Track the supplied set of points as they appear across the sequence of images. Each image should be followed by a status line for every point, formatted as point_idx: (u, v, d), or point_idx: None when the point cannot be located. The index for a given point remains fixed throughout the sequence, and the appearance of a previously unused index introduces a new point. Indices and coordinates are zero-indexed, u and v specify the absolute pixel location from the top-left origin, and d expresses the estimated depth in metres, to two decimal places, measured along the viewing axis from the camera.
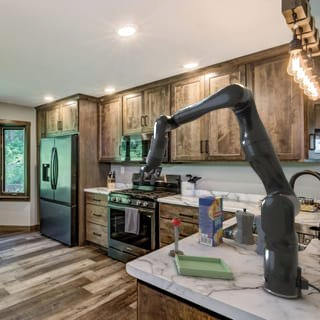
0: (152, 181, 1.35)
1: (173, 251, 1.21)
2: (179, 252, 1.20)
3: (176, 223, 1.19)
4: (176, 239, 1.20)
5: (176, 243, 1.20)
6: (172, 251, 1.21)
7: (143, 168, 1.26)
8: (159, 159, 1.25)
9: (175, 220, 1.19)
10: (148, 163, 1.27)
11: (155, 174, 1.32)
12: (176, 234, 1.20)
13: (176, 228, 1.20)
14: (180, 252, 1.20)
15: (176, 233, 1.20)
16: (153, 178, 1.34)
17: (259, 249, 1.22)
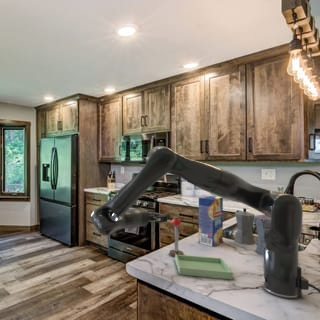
0: (151, 213, 1.17)
1: (173, 251, 1.21)
2: (179, 252, 1.20)
3: (176, 223, 1.19)
4: (176, 239, 1.20)
5: (176, 243, 1.20)
6: (172, 251, 1.21)
7: (159, 218, 1.04)
8: (138, 209, 1.06)
9: (175, 220, 1.19)
10: (149, 218, 1.05)
11: (147, 211, 1.14)
12: (176, 234, 1.20)
13: (176, 228, 1.20)
14: (180, 252, 1.20)
15: (176, 233, 1.20)
16: None
17: (259, 249, 1.22)
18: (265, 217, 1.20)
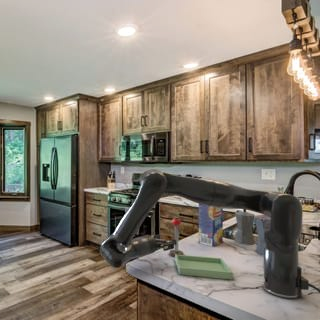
0: (157, 237, 1.19)
1: (173, 251, 1.21)
2: (179, 252, 1.20)
3: (176, 223, 1.19)
4: (176, 239, 1.20)
5: (176, 243, 1.20)
6: (172, 251, 1.21)
7: (166, 246, 1.06)
8: (145, 237, 1.07)
9: (175, 220, 1.19)
10: (156, 246, 1.07)
11: (153, 237, 1.15)
12: (176, 234, 1.20)
13: (176, 228, 1.20)
14: (180, 252, 1.20)
15: (176, 233, 1.20)
16: (155, 238, 1.18)
17: (259, 249, 1.22)
18: (265, 217, 1.20)
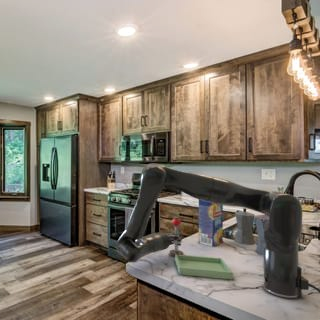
0: None
1: (173, 251, 1.21)
2: (179, 252, 1.20)
3: (176, 223, 1.19)
4: None
5: (176, 243, 1.20)
6: (172, 251, 1.21)
7: (180, 241, 1.13)
8: (159, 234, 1.12)
9: (175, 220, 1.19)
10: (169, 242, 1.12)
11: (169, 234, 1.19)
12: (176, 234, 1.20)
13: (176, 228, 1.20)
14: (180, 252, 1.20)
15: (176, 233, 1.20)
16: None
17: (259, 249, 1.22)
18: (265, 217, 1.20)
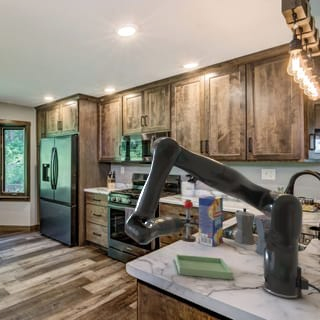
0: None
1: (185, 236, 1.14)
2: (191, 237, 1.12)
3: (188, 206, 1.11)
4: None
5: (188, 227, 1.12)
6: (183, 236, 1.14)
7: (193, 224, 1.05)
8: (170, 216, 1.05)
9: (187, 202, 1.12)
10: (181, 225, 1.04)
11: (180, 217, 1.11)
12: (188, 218, 1.12)
13: (188, 211, 1.13)
14: (192, 237, 1.12)
15: (188, 216, 1.12)
16: None
17: (259, 249, 1.22)
18: (265, 217, 1.20)
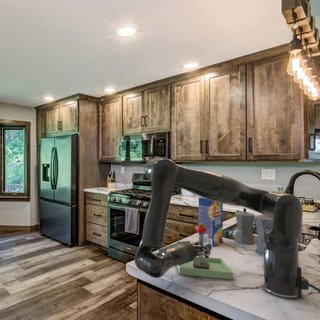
0: None
1: (197, 263, 1.06)
2: (204, 264, 1.04)
3: (201, 231, 1.03)
4: None
5: None
6: (196, 263, 1.06)
7: (208, 252, 0.96)
8: (183, 244, 0.97)
9: (200, 227, 1.04)
10: (195, 253, 0.96)
11: (192, 243, 1.04)
12: (201, 243, 1.04)
13: (201, 236, 1.04)
14: (205, 264, 1.04)
15: (201, 242, 1.04)
16: (196, 245, 1.06)
17: (259, 249, 1.22)
18: (265, 217, 1.20)
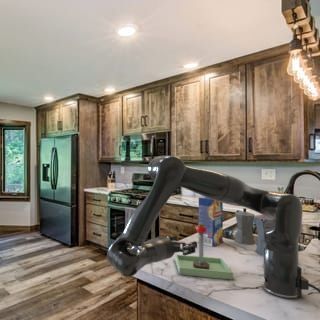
0: (173, 239, 1.01)
1: (197, 263, 1.06)
2: (204, 264, 1.04)
3: (201, 231, 1.03)
4: (201, 249, 1.04)
5: (201, 253, 1.04)
6: (196, 263, 1.06)
7: (186, 249, 0.88)
8: (161, 239, 0.90)
9: (200, 227, 1.04)
10: (174, 249, 0.89)
11: (169, 238, 0.98)
12: (201, 243, 1.04)
13: (201, 236, 1.04)
14: (205, 264, 1.04)
15: (201, 242, 1.04)
16: (171, 240, 1.01)
17: (259, 249, 1.22)
18: (265, 217, 1.20)
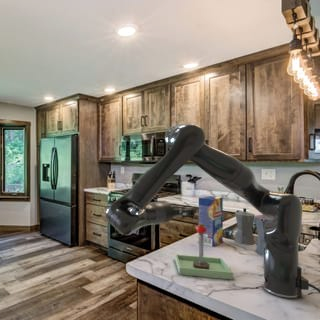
0: None
1: (197, 263, 1.06)
2: (204, 264, 1.04)
3: (201, 231, 1.03)
4: (201, 249, 1.04)
5: (201, 253, 1.04)
6: (196, 263, 1.06)
7: (185, 212, 0.88)
8: (160, 202, 0.90)
9: (200, 227, 1.04)
10: (173, 212, 0.89)
11: None
12: (201, 243, 1.04)
13: (201, 236, 1.04)
14: (205, 264, 1.04)
15: (201, 242, 1.04)
16: None
17: (259, 249, 1.22)
18: (265, 217, 1.20)
